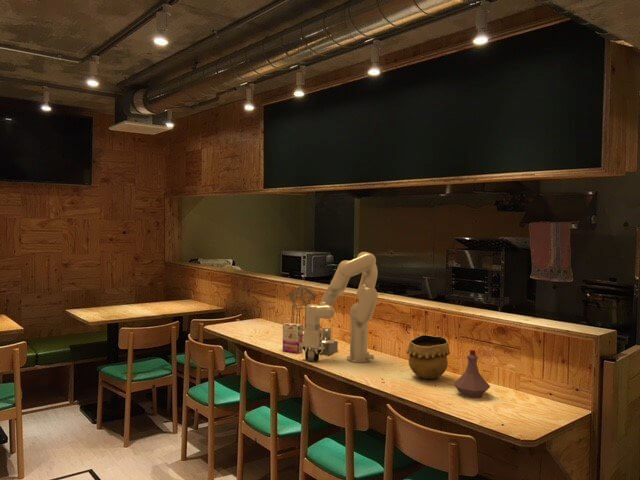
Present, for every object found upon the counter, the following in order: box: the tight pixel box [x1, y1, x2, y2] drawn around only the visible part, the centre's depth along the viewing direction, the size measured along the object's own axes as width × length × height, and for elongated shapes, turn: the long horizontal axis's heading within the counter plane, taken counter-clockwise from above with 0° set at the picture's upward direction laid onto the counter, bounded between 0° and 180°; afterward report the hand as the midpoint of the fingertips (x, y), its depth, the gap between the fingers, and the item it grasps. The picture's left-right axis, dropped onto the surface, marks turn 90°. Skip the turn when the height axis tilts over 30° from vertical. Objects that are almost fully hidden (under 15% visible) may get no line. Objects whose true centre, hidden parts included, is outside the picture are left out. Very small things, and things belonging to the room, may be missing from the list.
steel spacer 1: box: [306, 348, 317, 363], centre depth 290 cm, size 5×5×6 cm
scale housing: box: [309, 340, 339, 357], centre depth 309 cm, size 12×12×6 cm
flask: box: [453, 349, 491, 399], centre depth 238 cm, size 16×16×20 cm
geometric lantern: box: [287, 285, 319, 336], centre depth 338 cm, size 16×16×35 cm
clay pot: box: [405, 334, 451, 380], centre depth 262 cm, size 21×21×20 cm
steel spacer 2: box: [321, 327, 332, 340], centre depth 311 cm, size 5×5×6 cm
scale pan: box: [322, 338, 335, 344], centre depth 309 cm, size 12×12×1 cm
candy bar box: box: [282, 322, 304, 355], centre depth 308 cm, size 11×5×16 cm, turn 62°
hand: (312, 359), depth 290 cm, fingers closed on steel spacer 1, 5 cm apart
